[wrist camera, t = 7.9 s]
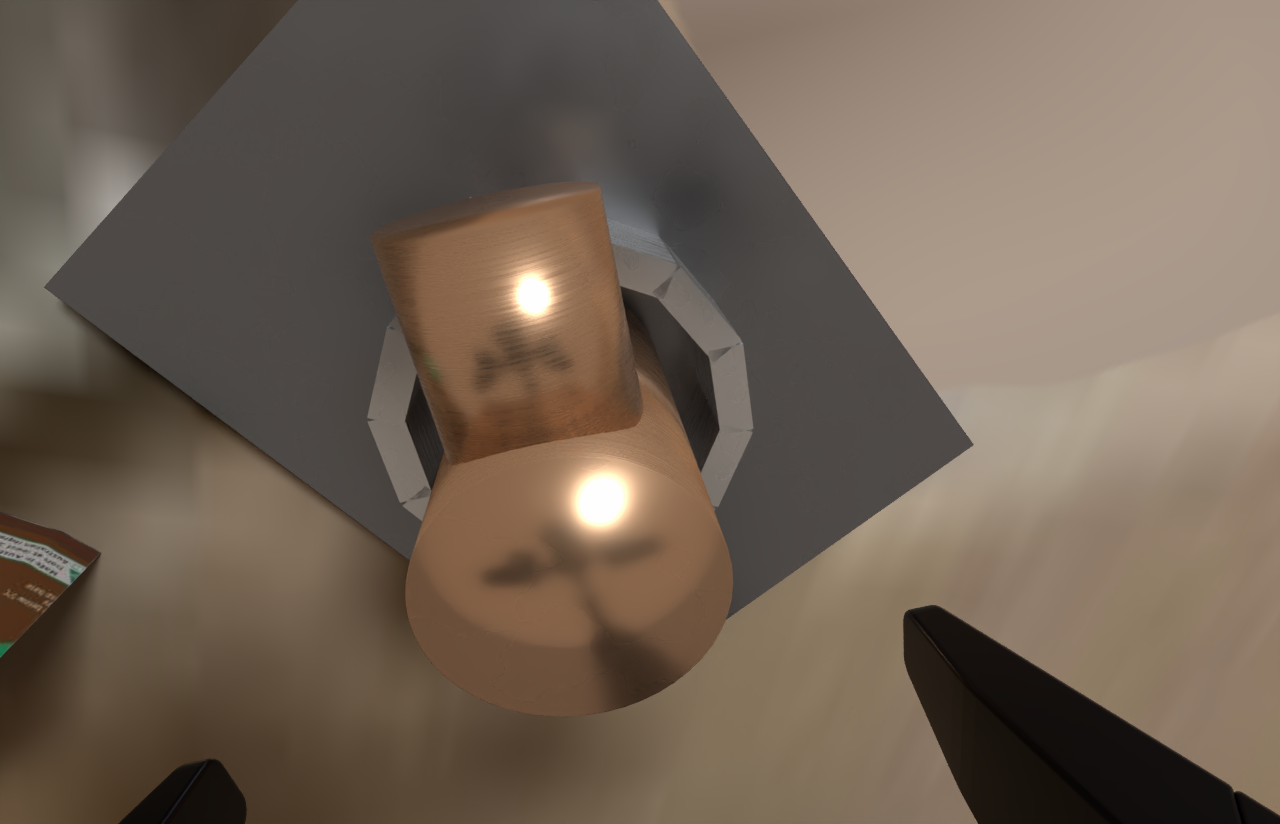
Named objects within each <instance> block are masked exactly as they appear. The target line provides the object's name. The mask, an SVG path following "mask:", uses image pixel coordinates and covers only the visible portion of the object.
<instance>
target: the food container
mask: <svg viewBox="0 0 1280 824" xmlns="http://www.w3.org/2000/svg"><path fill="white" fill-rule="evenodd" d="M100 554H101V552H99V551H97V550H95V549H93V548H91V547H89V546H88V545H86V544H84V543H82V542H80V541H78V540H77V539H75V538H73V537H71V536H69V535H67V534H66V533H64V532H62V531H58V530H55V529H52V528H49V527H46V526H43V525H40V524H37V523H34V522H30V521H27V520H24V519H21V518H18V517H15V516H12V515H9V514H6V513H1V512H0V658H1V657H2V655H3V654H4V653H5V652H6V651H7V650H8V649H9V648H10V647H11V646H12V645H13V644H14V643H15V642H16V641H17V640H18V639H19V638H20V637H21V636H22V635H23V634H24V633H25V632H26V631H27V629H28V628H29V627H30V626H31V625H32V624H33V623H34V622H35V621H36V620H37V619H38V618H39V617H40V616H41V615H42V614H43V613H44V612H45V611H46V610H47V609H48V608H49V607H50V606H51V605H52V604H53V602H54V601H55V600H56V599H57V598H58V597H59V596H60V595H61V594H62V593H63V592H64V591H65V590H66V589H67V588H68V587H69V586H70V585H71V584H72V583H73V582H74V581H75V580H76V579H77V578H78V576H79V575H80V574H81V573H82V572H83V571H84V570H85V569H86V568H87V567H88V566H89V565H90V564H91V563H92V562H93V561H94V560H95V559H96V558H97V557H98V556H99V555H100Z"/></svg>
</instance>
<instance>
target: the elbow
mask: <svg viewBox="0 0 1280 824" xmlns="http://www.w3.org/2000/svg"><path fill="white" fill-rule="evenodd" d="M369 238H370V241H371V244H372V247H373V250H374V253H375V255H376V258H377V261H378V264H379V267H380V270H381V272H382V275H383V278H384V281H385V284H386V287H387V289H388V292H389V295H390V298H391V301H392V304H393V306H394V309H395V312H396V315H397V318H398V321H399V323H400V326H401V329H402V332H403V335H404V338H405V341H406V343H407V346H408V349H409V352H410V355H411V358H412V360H413V363H414V366H415V369H416V372H417V375H418V377H419V380H420V383H421V386H422V389H423V392H424V394H425V397H426V400H427V403H428V406H429V409H430V411H431V414H432V417H433V420H434V423H435V426H436V428H437V431H438V434H439V437H440V440H441V443H442V446H443V448H444V453H443V456H442V459H441V462H440V466H439V469H438V472H437V475H436V479H435V482H434V485H433V488H432V492H431V495H430V498H429V501H428V505H427V508H426V511H425V514H424V518H423V521H422V524H421V527H420V531H419V534H418V537H417V540H416V543H415V547H414V550H413V553H412V556H411V560H410V563H409V566H408V572H407V577H406V583H405V602H406V608H407V615H408V619H409V622H410V625H411V628H412V631H413V634H414V636H415V638H416V640H417V642H418V643H419V645H420V647H421V649H422V651H423V652H424V653H425V655H426V656H427V657H428V659H429V660H430V661H431V663H432V664H433V665H434V666H435V667H436V668H437V669H438V670H439V671H440V672H441V673H442V674H443V675H444V676H445V677H447V678H448V679H449V680H450V681H452V682H453V683H454V684H456V685H457V686H458V687H460V688H461V689H463V690H465V691H466V692H468V693H470V694H471V695H473V696H475V697H477V698H479V699H481V700H484V701H486V702H488V703H490V704H493V705H496V706H499V707H502V708H505V709H508V710H512V711H517V712H521V713H526V714H533V715H541V716H562V717H569V716H582V715H591V714H597V713H602V712H607V711H611V710H615V709H619V708H622V707H626V706H628V705H631V704H634V703H636V702H639V701H642V700H644V699H646V698H648V697H650V696H652V695H654V694H656V693H658V692H660V691H662V690H663V689H665V688H666V687H668V686H670V685H671V684H673V683H674V682H676V681H677V680H678V679H680V678H681V677H682V676H683V675H685V674H686V673H687V672H689V671H690V670H691V669H692V668H693V667H694V666H695V665H696V664H697V663H698V662H699V661H700V660H701V659H702V658H703V656H704V655H705V654H706V652H707V651H708V650H709V649H710V647H711V646H712V645H713V643H714V641H715V640H716V638H717V636H718V635H719V633H720V631H721V629H722V627H723V625H724V622H725V620H726V618H727V615H728V612H729V608H730V604H731V600H732V591H733V571H732V563H731V559H730V555H729V550H728V547H727V545H726V542H725V539H724V536H723V534H722V531H721V528H720V525H719V523H718V520H717V517H716V514H715V512H714V509H713V506H712V503H711V501H710V498H709V495H708V492H707V489H706V487H705V484H704V481H703V478H702V476H701V473H700V470H699V467H698V465H697V462H696V459H695V456H694V454H693V451H692V448H691V445H690V443H689V440H688V437H687V434H686V432H685V429H684V426H683V423H682V421H681V418H680V415H679V412H678V410H677V407H676V404H675V401H674V399H673V396H672V393H671V390H670V388H669V385H668V382H667V379H666V377H665V374H664V371H663V368H662V366H661V363H660V360H659V357H658V355H657V352H656V349H655V346H654V344H653V341H652V339H651V337H650V335H649V333H648V331H647V330H646V328H645V326H644V325H643V324H642V322H641V321H640V320H639V319H638V317H637V316H636V315H635V314H634V313H633V312H632V311H631V310H630V309H629V308H627V307H626V306H625V305H624V303H623V298H622V293H621V288H620V283H619V278H618V273H617V268H616V263H615V258H614V253H613V248H612V243H611V238H610V233H609V228H608V223H607V218H606V212H605V207H604V202H603V197H602V192H601V187H600V185H599V184H597V183H595V182H586V181H573V182H559V183H549V184H541V185H534V186H528V187H521V188H516V189H510V190H505V191H500V192H495V193H490V194H485V195H481V196H477V197H472V198H468V199H464V200H460V201H456V202H452V203H448V204H445V205H441V206H438V207H434V208H431V209H427V210H424V211H421V212H418V213H415V214H412V215H409V216H406V217H403V218H401V219H398V220H395V221H393V222H391V223H388V224H386V225H384V226H382V227H380V228H378V229H377V230H375V231H374V232H372V233H371V234H370V236H369Z"/></svg>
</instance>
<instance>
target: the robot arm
mask: <svg viewBox="0 0 1280 824" xmlns="http://www.w3.org/2000/svg"><path fill="white" fill-rule="evenodd" d="M903 632H904V661H905V665H906V669H907V672H908V674H909V677H910V679H911V681H912V684H913V686H914V688H915V691H916V693H917V695H918V697H919V700H920V702H921V704H922V706H923V709H924V711H925V713H926V716H927V718H928V720H929V722H930V725H931V727H932V729H933V731H934V734H935V736H936V738H937V741H938V743H939V745H940V747H941V750H942V752H943V754H944V756H945V759H946V761H947V763H948V766H949V768H950V770H951V772H952V774H953V777H954V779H955V781H956V783H957V785H958V787H959V789H960V791H961V793H962V795H963V797H964V799H965V801H966V803H967V804H968V806H969V808H970V810H971V812H972V813H973V815H974V817H975V819H976V820H977V822H978V824H1280V815H1278V814H1276V813H1275V812H1273V811H1272V810H1270V809H1268V808H1267V807H1265V806H1263V805H1262V804H1260V803H1259V802H1257V801H1255V800H1254V799H1252V798H1250V797H1249V796H1247V795H1246V794H1244V793H1242V792H1240V791H1236V792H1234V791H1233V789H1232V787H1231V786H1230V785H1229V784H1227V783H1226V782H1224V781H1222V780H1221V779H1219V778H1218V777H1216V776H1214V775H1213V774H1211V773H1209V772H1208V771H1206V770H1205V769H1203V768H1201V767H1200V766H1198V765H1196V764H1195V763H1193V762H1192V761H1190V760H1188V759H1187V758H1185V757H1183V756H1182V755H1180V754H1179V753H1177V752H1175V751H1174V750H1172V749H1170V748H1169V747H1167V746H1166V745H1164V744H1162V743H1161V742H1159V741H1157V740H1156V739H1154V738H1153V737H1151V736H1149V735H1148V734H1146V733H1144V732H1143V731H1141V730H1140V729H1138V728H1136V727H1135V726H1133V725H1131V724H1130V723H1128V722H1127V721H1125V720H1123V719H1122V718H1120V717H1119V716H1117V715H1115V714H1114V713H1112V712H1110V711H1109V710H1107V709H1106V708H1104V707H1102V706H1101V705H1099V704H1097V703H1096V702H1094V701H1093V700H1091V699H1089V698H1088V697H1086V696H1084V695H1083V694H1081V693H1080V692H1078V691H1076V690H1075V689H1073V688H1071V687H1070V686H1068V685H1067V684H1065V683H1063V682H1062V681H1060V680H1058V679H1057V678H1055V677H1054V676H1052V675H1050V674H1049V673H1047V672H1045V671H1044V670H1042V669H1041V668H1039V667H1037V666H1036V665H1034V664H1032V663H1031V662H1029V661H1028V660H1026V659H1024V658H1023V657H1021V656H1019V655H1018V654H1016V653H1015V652H1013V651H1011V650H1010V649H1008V648H1007V647H1005V646H1003V645H1002V644H1000V643H998V642H997V641H995V640H994V639H992V638H990V637H989V636H987V635H985V634H984V633H982V632H981V631H979V630H977V629H976V628H974V627H972V626H971V625H969V624H968V623H966V622H964V621H963V620H961V619H959V618H958V617H956V616H955V615H953V614H951V613H950V612H948V611H946V610H945V609H943V608H941V607H939V606H936V605H929V606H925V607H920V608H915V609H910V610H908V611H906V613H905V615H904V619H903ZM246 812H247V808H246V801H245V798H244V796H243V794H242V792H241V791H240V789H239V788H238V786H237V785H236V784H235V782H234V781H233V779H232V778H231V776H230V775H229V773H228V772H227V770H226V769H225V767H224V766H223V764H222V763H221V762H220V761H218V760H216V759H206V760H201V761H196V762H192V763H187V764H184V765H182V766H180V767H178V768H177V769H176V770H175V771H173V772H172V773H171V774H170V775H169V776H168V777H167V778H166V779H165V780H164V781H163V782H162V783H161V784H160V785H159V786H158V787H156V788H155V789H154V790H153V791H152V792H151V793H150V794H149V795H148V796H147V797H146V798H145V799H144V800H143V801H142V802H141V803H140V804H139V805H137V806H136V807H135V808H134V809H133V810H132V811H131V812H130V813H129V814H128V815H127V816H126V817H125V818H124V819H123V820H122V821H121V822H120V823H119V824H245V821H246Z"/></svg>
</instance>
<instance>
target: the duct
mask: <svg viewBox="0 0 1280 824" xmlns="http://www.w3.org/2000/svg"><path fill="white" fill-rule="evenodd" d="M573 181H586V182H595V183H597V184H599V185H600V187H601V192H602V197H603V202H604V207H605V212H606V218H607V223H608V228H609V233H610V238H611V243H612V248H613V253H614V258H615V263H616V268H617V273H618V278H619V283H620V288H621V293H622V298H623V303H624V305H625V306H626V307H627V308H629V309H630V310H631V311H632V312H633V313H634V314H635V315H636V316H637V317H638V319H639V320H640V321H641V322H642V324H643V325H644V326H645V328H646V330H647V331H648V333H649V335H650V337H651V339H652V341H653V344H654V346H655V349H656V352H657V355H658V357H659V360H660V363H661V366H662V368H663V371H664V374H665V377H666V379H667V382H668V385H669V388H670V390H671V393H672V396H673V399H674V401H675V404H676V407H677V410H678V412H679V415H680V418H681V421H682V423H683V426H684V429H685V432H686V434H687V437H688V440H689V443H690V445H691V448H692V451H693V454H694V456H695V459H696V462H697V465H698V467H699V470H700V473H701V476H702V478H703V481H704V484H705V487H706V489H707V492H708V495H709V498H710V501H711V503H712V506H713V509H714V512H715V514H716V517H717V520H718V523H719V525H720V528H721V531H722V534H723V536H724V539H725V542H726V545H727V547H728V550H729V555H730V559H731V563H732V571H733V591H732V600H731V604H730V608H729V612H728V615H727V618H726V619H728V618H729V617H730V616H732V615H733V614H735V613H736V612H738V611H739V610H740V609H742V608H743V607H745V606H746V605H747V604H749V603H750V602H752V601H753V600H755V599H756V598H757V597H759V596H760V595H762V594H763V593H764V592H766V591H767V590H769V589H770V588H772V587H773V586H774V585H776V584H777V583H779V582H780V581H781V580H783V579H784V578H786V577H787V576H789V575H790V574H791V573H793V572H794V571H796V570H797V569H798V568H800V567H801V566H803V565H804V564H806V563H807V562H808V561H810V560H811V559H813V558H814V557H816V556H817V555H818V554H820V553H821V552H823V551H824V550H825V549H827V548H828V547H830V546H831V545H833V544H834V543H835V542H837V541H838V540H840V539H841V538H842V537H844V536H845V535H847V534H848V533H850V532H851V531H852V530H854V529H855V528H857V527H858V526H859V525H861V524H862V523H864V522H865V521H867V520H868V519H869V518H871V517H872V516H874V515H875V514H876V513H878V512H879V511H881V510H882V509H884V508H885V507H886V506H888V505H889V504H891V503H892V502H893V501H895V500H896V499H898V498H899V497H901V496H902V495H903V494H905V493H906V492H908V491H909V490H910V489H912V488H913V487H915V486H916V485H918V484H919V483H920V482H922V481H923V480H925V479H926V478H927V477H929V476H930V475H932V474H933V473H935V472H936V471H937V470H939V469H940V468H942V467H943V466H944V465H946V464H947V463H949V462H950V461H952V460H953V459H954V458H956V457H957V456H959V455H960V454H961V453H963V452H964V451H966V450H967V449H969V448H970V447H971V446H973V443H972V442H971V440H970V439H969V438H968V436H967V435H966V433H965V432H964V431H963V429H962V428H961V426H960V425H959V424H958V422H957V421H956V419H955V418H954V416H953V415H952V414H951V412H950V411H949V409H948V408H947V407H946V405H945V404H944V402H943V401H942V400H941V398H940V397H939V395H938V394H937V393H936V391H935V390H934V388H933V387H932V386H931V384H930V383H929V381H928V380H927V379H926V377H925V376H924V374H923V373H922V372H921V370H920V369H919V367H918V366H917V365H916V363H915V362H914V360H913V359H912V357H911V356H910V355H909V353H908V352H907V350H906V349H905V348H904V346H903V345H902V343H901V342H900V341H899V339H898V338H897V336H896V335H895V334H894V332H893V331H892V329H891V328H890V327H889V326H888V324H887V322H886V321H885V319H884V318H883V317H882V315H881V314H880V312H879V311H878V310H877V308H876V307H875V306H874V304H873V303H872V301H871V300H870V298H869V297H868V296H867V294H866V293H865V291H864V290H863V289H862V287H861V286H860V284H859V283H858V282H857V280H856V279H855V277H854V276H853V275H852V273H851V272H850V270H849V269H848V267H847V266H846V265H845V263H844V262H843V260H842V259H841V258H840V256H839V255H838V254H837V252H836V251H835V249H834V248H833V246H832V245H831V244H830V242H829V241H828V239H827V238H826V237H825V235H824V234H823V232H822V231H821V230H820V228H819V227H818V225H817V224H816V223H815V221H814V220H813V218H812V217H811V216H810V214H809V213H808V212H807V210H806V209H805V207H804V206H803V205H802V203H801V201H800V200H799V199H798V197H797V196H796V194H795V193H794V192H793V190H792V189H791V187H790V186H789V185H788V183H787V182H786V181H785V179H784V178H783V176H782V175H781V173H780V172H779V170H778V169H777V168H776V166H775V165H774V163H773V162H772V161H771V159H770V158H769V156H768V155H767V154H766V152H765V151H764V149H763V148H762V147H761V145H760V144H759V142H758V141H757V140H756V138H755V137H754V135H753V134H752V133H751V131H750V130H749V128H748V127H747V126H746V124H745V123H744V122H743V120H742V118H741V117H740V116H739V114H738V113H737V112H736V110H735V109H734V107H733V106H732V104H731V103H730V102H729V100H728V99H727V97H726V96H725V95H724V93H723V92H722V90H721V89H720V88H719V86H718V85H717V83H716V82H715V81H714V79H713V78H712V76H711V75H710V74H709V72H708V71H707V69H706V68H705V66H704V65H703V64H702V62H701V61H700V59H699V58H698V57H697V55H696V54H695V52H694V51H693V50H692V48H691V47H690V45H689V44H688V43H687V41H686V40H685V38H684V37H683V35H682V34H681V33H680V31H679V30H678V28H677V27H676V26H675V24H674V23H673V21H672V20H671V19H670V17H669V16H668V14H667V13H666V12H665V10H664V9H663V7H662V6H661V5H660V3H659V2H658V0H298V1H297V2H296V3H295V4H294V6H293V7H292V8H291V9H290V10H289V11H288V12H287V13H286V15H285V16H284V17H283V18H282V19H281V20H280V21H279V22H278V24H277V25H276V26H275V27H274V28H273V29H272V30H271V31H270V33H269V34H268V35H267V36H266V37H265V38H264V39H263V41H262V42H261V43H260V44H259V45H258V46H257V47H256V48H255V50H254V51H253V52H252V53H251V54H250V55H249V56H248V57H247V59H246V60H245V61H244V62H243V63H242V64H241V65H240V66H239V68H238V69H237V70H236V71H235V72H234V73H233V74H232V76H231V77H230V78H229V79H228V80H227V81H226V82H225V83H224V85H223V86H222V87H221V88H220V89H219V90H218V91H217V92H216V94H215V95H214V96H213V97H212V98H211V99H210V100H209V101H208V103H207V104H206V105H205V106H204V107H203V108H202V109H201V110H200V112H199V113H198V114H197V115H196V116H195V117H194V118H193V120H192V121H191V122H190V123H189V124H188V125H187V126H186V127H185V129H184V130H183V131H182V132H181V133H180V134H179V135H178V136H177V138H176V139H175V140H174V141H173V142H172V143H171V144H170V145H169V147H168V148H167V149H166V150H165V151H164V152H163V153H162V155H161V156H160V157H159V158H158V159H157V160H156V161H155V162H154V164H153V165H152V166H151V167H150V168H149V169H148V170H147V171H146V173H145V174H144V175H143V176H142V177H141V178H140V179H139V180H138V182H137V183H136V184H135V185H134V186H133V187H132V188H131V190H130V191H129V192H128V193H127V194H126V195H125V196H124V197H123V199H122V200H121V201H120V202H119V203H118V204H117V205H116V206H115V208H114V209H113V210H112V211H111V212H110V213H109V214H108V215H107V217H106V218H105V219H104V220H103V221H102V222H101V223H100V225H99V226H98V227H97V228H96V229H95V230H94V231H93V232H92V234H91V235H90V236H89V237H88V238H87V239H86V240H85V241H84V243H83V244H82V245H81V246H80V247H79V248H78V249H77V250H76V252H75V253H74V254H73V255H72V256H71V257H70V258H69V260H68V261H67V262H66V263H65V264H64V265H63V266H62V267H61V269H60V270H59V271H58V272H57V273H56V274H55V275H54V276H53V278H52V279H51V280H50V281H49V282H48V283H47V284H46V285H45V287H44V288H45V289H47V290H48V291H49V292H51V293H52V294H53V295H55V296H56V297H58V298H59V299H60V300H62V301H63V302H64V303H66V304H67V305H68V306H70V307H71V308H72V309H74V310H75V311H76V312H78V313H79V314H80V315H82V316H83V317H84V318H86V319H87V320H88V321H90V322H91V323H92V324H94V325H95V326H96V327H98V328H99V329H100V330H102V331H103V332H104V333H106V334H107V335H108V336H110V337H111V338H112V339H114V340H115V341H116V342H118V343H119V344H120V345H122V346H123V347H124V348H126V349H127V350H128V351H130V352H131V353H132V354H134V355H135V356H136V357H138V358H139V359H140V360H142V361H143V362H145V363H146V364H147V365H149V366H150V367H151V368H153V369H154V370H155V371H157V372H158V373H159V374H161V375H162V376H163V377H165V378H166V379H167V380H169V381H170V382H171V383H173V384H174V385H175V386H177V387H178V388H179V389H181V390H182V391H183V392H185V393H186V394H187V395H189V396H190V397H191V398H193V399H194V400H195V401H197V402H198V403H199V404H201V405H202V406H203V407H205V408H206V409H207V410H209V411H210V412H211V413H213V414H214V415H215V416H217V417H218V418H219V419H221V420H222V421H223V422H225V423H226V424H228V425H229V426H230V427H232V428H233V429H234V430H236V431H237V432H238V433H240V434H241V435H242V436H244V437H245V438H246V439H248V440H249V441H250V442H252V443H253V444H254V445H256V446H257V447H258V448H260V449H261V450H262V451H264V452H265V453H266V454H268V455H269V456H270V457H272V458H273V459H274V460H276V461H277V462H278V463H280V464H281V465H282V466H284V467H285V468H286V469H288V470H289V471H290V472H292V473H293V474H294V475H296V476H297V477H298V478H300V479H301V480H302V481H304V482H305V483H306V484H308V485H309V486H310V487H312V488H313V489H315V490H316V491H317V492H319V493H320V494H321V495H323V496H324V497H325V498H327V499H328V500H329V501H331V502H332V503H333V504H335V505H336V506H337V507H339V508H340V509H341V510H343V511H344V512H345V513H347V514H348V515H349V516H351V517H352V518H353V519H355V520H356V521H357V522H359V523H360V524H361V525H363V526H364V527H365V528H367V529H368V530H369V531H371V532H372V533H373V534H375V535H376V536H377V537H379V538H380V539H381V540H383V541H384V542H385V543H387V544H388V545H389V546H391V547H392V548H393V549H395V550H396V551H397V552H399V553H400V554H402V555H403V556H404V557H406V558H407V559H408V560H411V556H412V553H413V550H414V547H415V543H416V540H417V537H418V534H419V531H420V527H421V524H422V521H423V518H424V514H425V511H426V508H427V505H428V501H429V498H430V495H431V492H432V488H433V485H434V482H435V479H436V475H437V472H438V469H439V466H440V462H441V459H442V456H443V453H444V448H443V446H442V443H441V440H440V437H439V434H438V431H437V428H436V426H435V423H434V420H433V417H432V414H431V411H430V409H429V406H428V403H427V400H426V397H425V394H424V392H423V389H422V386H421V383H420V380H419V377H418V375H417V372H416V369H415V366H414V363H413V360H412V358H411V355H410V352H409V349H408V346H407V343H406V341H405V338H404V335H403V332H402V329H401V326H400V323H399V321H398V318H397V315H396V312H395V309H394V306H393V304H392V301H391V298H390V295H389V292H388V289H387V287H386V284H385V281H384V278H383V275H382V272H381V270H380V267H379V264H378V261H377V258H376V255H375V253H374V250H373V247H372V244H371V241H370V238H369V236H370V234H371V233H372V232H374V231H375V230H377V229H378V228H380V227H382V226H384V225H386V224H388V223H391V222H393V221H395V220H398V219H401V218H403V217H406V216H409V215H412V214H415V213H418V212H421V211H424V210H427V209H431V208H434V207H438V206H441V205H445V204H448V203H452V202H456V201H460V200H464V199H468V198H472V197H477V196H481V195H485V194H490V193H495V192H500V191H505V190H510V189H516V188H521V187H528V186H534V185H541V184H549V183H559V182H573Z"/></svg>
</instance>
